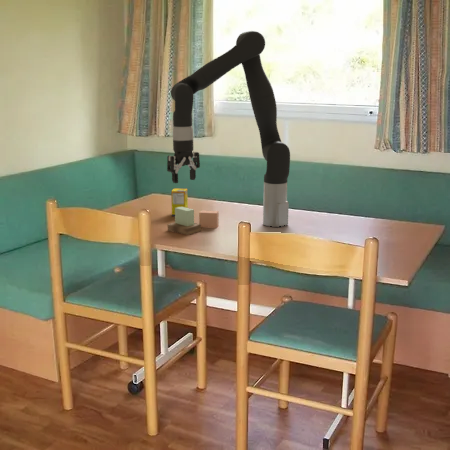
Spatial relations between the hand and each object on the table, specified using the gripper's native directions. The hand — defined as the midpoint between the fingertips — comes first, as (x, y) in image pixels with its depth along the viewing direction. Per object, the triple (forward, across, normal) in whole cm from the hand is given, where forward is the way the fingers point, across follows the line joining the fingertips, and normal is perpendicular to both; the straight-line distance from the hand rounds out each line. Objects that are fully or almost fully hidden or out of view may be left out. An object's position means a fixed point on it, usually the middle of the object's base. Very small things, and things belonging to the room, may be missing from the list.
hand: (184, 181), depth 240 cm
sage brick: (+17, 0, +1) cm, 17 cm away
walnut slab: (+20, 0, 0) cm, 20 cm away
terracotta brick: (+20, +11, -2) cm, 22 cm away
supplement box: (+20, +15, +20) cm, 32 cm away
